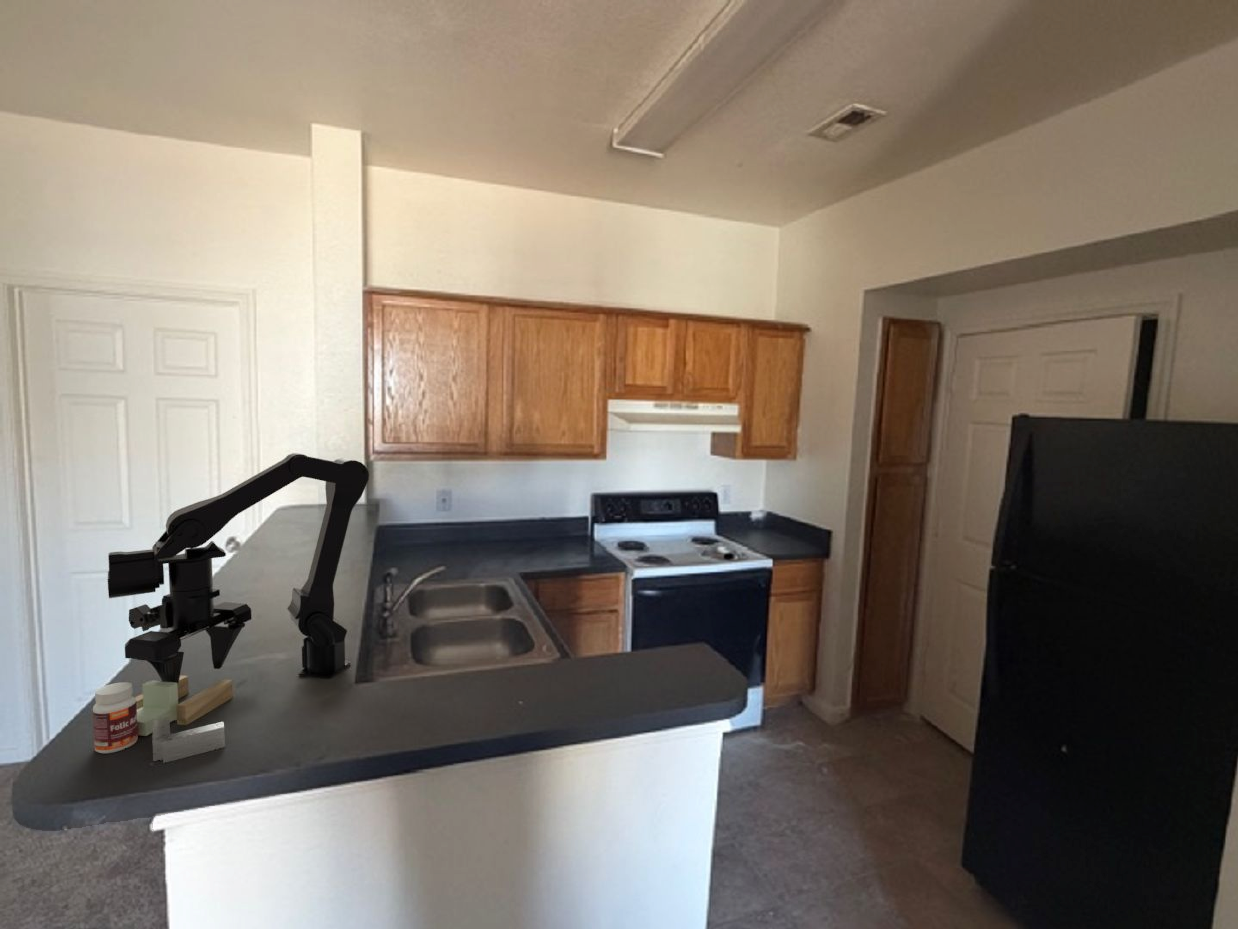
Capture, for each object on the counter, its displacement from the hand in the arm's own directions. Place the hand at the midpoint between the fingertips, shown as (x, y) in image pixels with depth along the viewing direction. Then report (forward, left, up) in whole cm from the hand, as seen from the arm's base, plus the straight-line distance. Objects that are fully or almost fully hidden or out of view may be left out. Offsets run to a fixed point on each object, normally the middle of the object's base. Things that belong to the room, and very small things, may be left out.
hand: (195, 679), depth 98 cm
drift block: (0, +8, -3) cm, 9 cm away
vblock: (-10, +13, -4) cm, 17 cm away
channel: (0, +3, -4) cm, 4 cm away
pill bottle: (0, +14, -4) cm, 14 cm away
